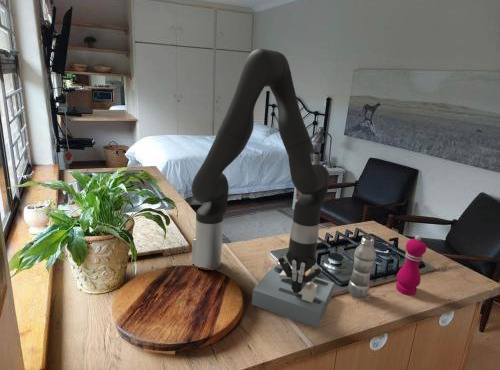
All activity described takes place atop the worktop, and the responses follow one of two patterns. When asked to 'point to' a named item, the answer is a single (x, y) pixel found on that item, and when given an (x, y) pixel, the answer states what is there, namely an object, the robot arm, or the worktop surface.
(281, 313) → the console
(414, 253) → the pepper mill
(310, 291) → the slider knob
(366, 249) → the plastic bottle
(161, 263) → the worktop surface
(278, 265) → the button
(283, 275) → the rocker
